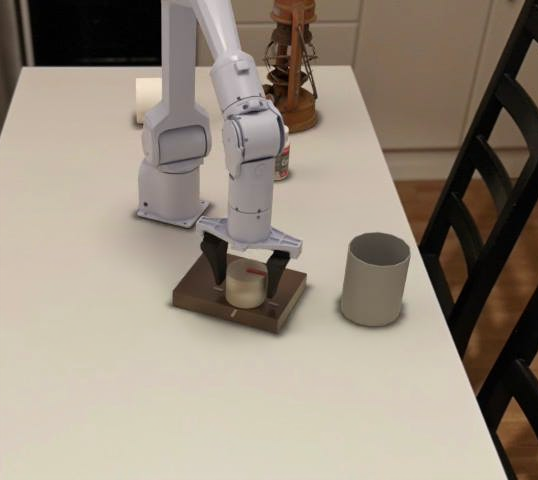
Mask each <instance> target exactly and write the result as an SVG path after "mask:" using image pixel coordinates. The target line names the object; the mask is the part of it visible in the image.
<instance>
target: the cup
mask: <svg viewBox="0 0 538 480" xmlns="http://www.w3.org/2000/svg"><path fill="white" fill-rule="evenodd" d="M347 246H348V248H347V253H346V262H345V269H344V276H343V282H342V291H341V297H340V311H341V313H342V314H343V315H344V316H345V318H346V319H347V320H350V321H352V323H353V322H354V323H355V324H357V325H361V326H366V327H381V326H383V327H384V326H386V325H388V324H391V323H393V322H395V321H396V319H397V318H398V317H399V315H400V313H401V307H402V303H403V299H404V293H405V287H406V282H407V278H408V273H409V266H410V262H411V256H412V252H411V246H410V245H409V244H408V243H407V242H406V241H405V240H404V239H402V238H401V237H398V236H396V235H394V234H392V233H386V232H382V231H374V232H373V231H372V232H364V233H361V234H357V235H355V236H354V237H353V238H352V239H351V240H350V241H349V243H348V245H347Z"/></svg>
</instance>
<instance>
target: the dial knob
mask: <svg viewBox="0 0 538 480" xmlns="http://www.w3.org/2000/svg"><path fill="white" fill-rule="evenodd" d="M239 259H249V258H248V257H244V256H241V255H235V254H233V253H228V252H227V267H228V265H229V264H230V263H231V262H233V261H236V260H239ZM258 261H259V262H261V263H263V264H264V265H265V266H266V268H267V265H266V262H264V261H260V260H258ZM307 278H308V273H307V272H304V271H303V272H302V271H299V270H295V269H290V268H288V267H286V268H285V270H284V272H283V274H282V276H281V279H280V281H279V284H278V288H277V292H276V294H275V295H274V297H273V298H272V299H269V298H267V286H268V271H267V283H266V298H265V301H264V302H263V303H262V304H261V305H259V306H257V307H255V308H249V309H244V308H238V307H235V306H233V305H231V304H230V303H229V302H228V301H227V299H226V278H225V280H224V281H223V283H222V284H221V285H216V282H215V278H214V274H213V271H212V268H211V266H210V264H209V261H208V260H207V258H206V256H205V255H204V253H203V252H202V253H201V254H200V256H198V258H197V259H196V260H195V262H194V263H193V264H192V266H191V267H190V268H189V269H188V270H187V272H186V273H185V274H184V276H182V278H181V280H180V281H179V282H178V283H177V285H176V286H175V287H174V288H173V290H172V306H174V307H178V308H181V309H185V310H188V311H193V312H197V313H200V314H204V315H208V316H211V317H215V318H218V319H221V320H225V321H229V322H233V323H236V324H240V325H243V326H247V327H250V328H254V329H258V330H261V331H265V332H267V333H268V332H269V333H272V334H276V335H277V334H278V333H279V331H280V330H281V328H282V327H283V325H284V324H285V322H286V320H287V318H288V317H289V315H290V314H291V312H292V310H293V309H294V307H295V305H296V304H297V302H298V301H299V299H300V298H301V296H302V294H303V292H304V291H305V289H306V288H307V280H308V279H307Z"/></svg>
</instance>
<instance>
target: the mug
mask: <svg viewBox="0 0 538 480" xmlns="http://www.w3.org/2000/svg"><path fill="white" fill-rule="evenodd" d="M161 100H162V77H136V78H135V111H136V112H135V113H136V123H137V124H144V118H145V116H144V115H145V113H147V112H148V111H149V110H150V109H151V108H153V107H154V106H155V105H156V104H157V103H159V102H160V101H161Z"/></svg>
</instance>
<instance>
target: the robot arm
mask: <svg viewBox="0 0 538 480" xmlns="http://www.w3.org/2000/svg"><path fill="white" fill-rule="evenodd" d="M160 3H161V78H162V100H161V101H160V102H159V103H157V104H156V105H155V106H154V107H153V108H151V109H150V110H149V111H148V112H147V113H145V115H144V116H145V118H144V123H143V126H142V130H141V147H142V152H143V156H144V158H143V159H142V161H141V162H140V165H139V169H138V173H137V187H138V188H137V191H138V211H137V212H136V213H137V216H138V217H141V218H146V219H149V220H154V221H157V222H161V223H166V224H170V225H174V226H178V227H182V228H185V229H190V228H191V227H192V226H193V225H194V224H195V235H196V236H199V237H202V240H201V242H200V243H199V249H200V251H201V252H202V253H204V255H205V256H206V258H207V260H208V261H209V264H210V266H211V268H212V271H213V274H214V278H215V282H216V285H221V284H222V283H223V281H224V280H225V278H226V270H227V253H228V248H229V244H230V249H231V250H233V251H237V252H241V253H242V252H246V251H247V250H268V251H272V253H271V255H270V256H269V258H268V259H267V260H266V262H265V263H266V265H267V271H268V286H267V298H269V299H272V298H273V297H274V295H275V294H276V292H277V288H278V284H279V281H280V279H281V276H282V274H283V272H284V270H285V268H287V266H288V264H289V263H290V261H291V259H292V260H298V259H299V258H300V256H301V254H302V253H303V245H304V240H303V239H300V238H298V237H294V236H292V235H289V234H288V233H286V232H284V231H282V230H280V229H278V228H276V227H274V226H272V213H273V199H274V187H275V186H274V184H275V180H274V171H275V156H276V155H281V154H282V153H283V151H284V148H285V141H286V136H285V127H284V123H283V119H282V116H281V114H280V112H279V111H278V109H277V108H276V107H274V105H273V102H272V101H271V100H267V99H266V96H265V93H264V90H263V87H262V85H263V84H262V81H261V78H260V75H259V71H258V68H257V64H256V62H255V59H254V57H253V56H252V55H250V54H249V53H247V52H246V51H243V50H242V46H241V42H240V37H239V32H238V28H237V24H236V19H235V14H234V10H233V6H232V1H231V0H160ZM197 21H198V24H199V26H200V30H201V31H202V34H203V36H204V39H205V40H206V43H207V46H208V48H209V50H210V53H211V55H212V58H213V61H214V62H213V65H212V66H211V68H210V69H209V77H210V80H211V83H212V87H213V89H214V94H215V97H216V100H217V103H218V106H219V110H220V113H221V116H222V119H223V122H224V123H223V125H222V128H221V138H222V145H223V150H224V157H225V158H224V163H225V168H226V170H227V172H228V194H227V195H228V196H227V217H211V216H205V215H202V214H203V213H204V212H205V211H206V210H207V208H208V207H209V205H210V203H209V202H208V201H206V200H201V197H200V196H201V195H200V193H201V192H200V190H201V189H200V188H201V187H200V185H201V182H200V181H201V179H200V178H201V165H204V161H205V159H204V158H207V157H208V156H209V155H210V153H211V150H212V147H213V137H212V132H211V124H210V123H211V122H210V116H209V114H208V112H207V111H206V109H205V108H204V106H202V105H201V104H200V103H198V102H196V99H195V98H196V61H197V59H196V56H197Z"/></svg>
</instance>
